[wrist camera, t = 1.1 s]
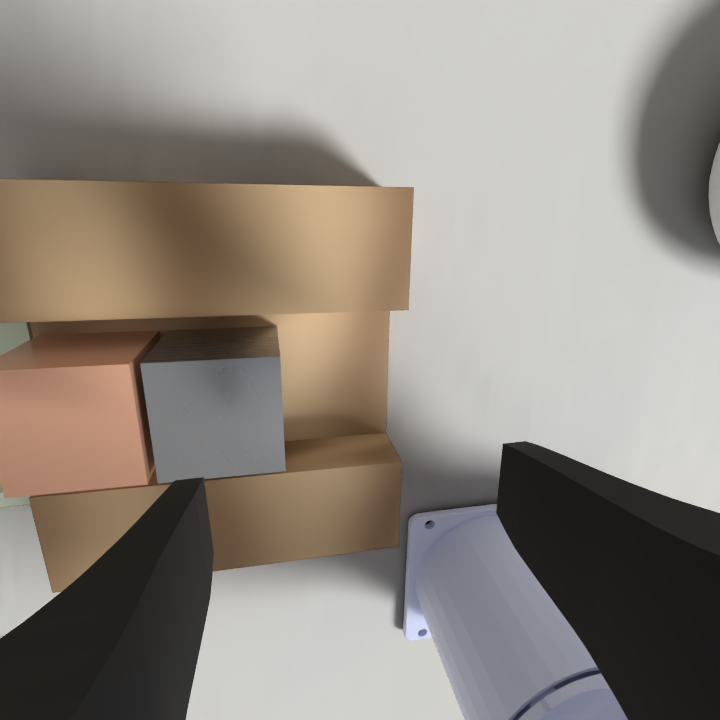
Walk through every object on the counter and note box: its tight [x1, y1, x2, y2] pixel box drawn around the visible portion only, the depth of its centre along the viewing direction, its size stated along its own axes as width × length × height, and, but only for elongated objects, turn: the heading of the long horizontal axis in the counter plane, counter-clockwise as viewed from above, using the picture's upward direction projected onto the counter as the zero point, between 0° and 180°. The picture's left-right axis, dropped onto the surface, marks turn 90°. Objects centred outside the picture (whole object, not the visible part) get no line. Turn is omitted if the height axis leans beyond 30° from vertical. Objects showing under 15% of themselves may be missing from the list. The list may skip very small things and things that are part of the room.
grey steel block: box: [140, 326, 286, 483], centre depth 16 cm, size 4×4×4 cm
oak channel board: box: [0, 179, 414, 593], centre depth 17 cm, size 13×14×4 cm
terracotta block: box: [0, 330, 160, 498], centre depth 15 cm, size 4×4×4 cm
